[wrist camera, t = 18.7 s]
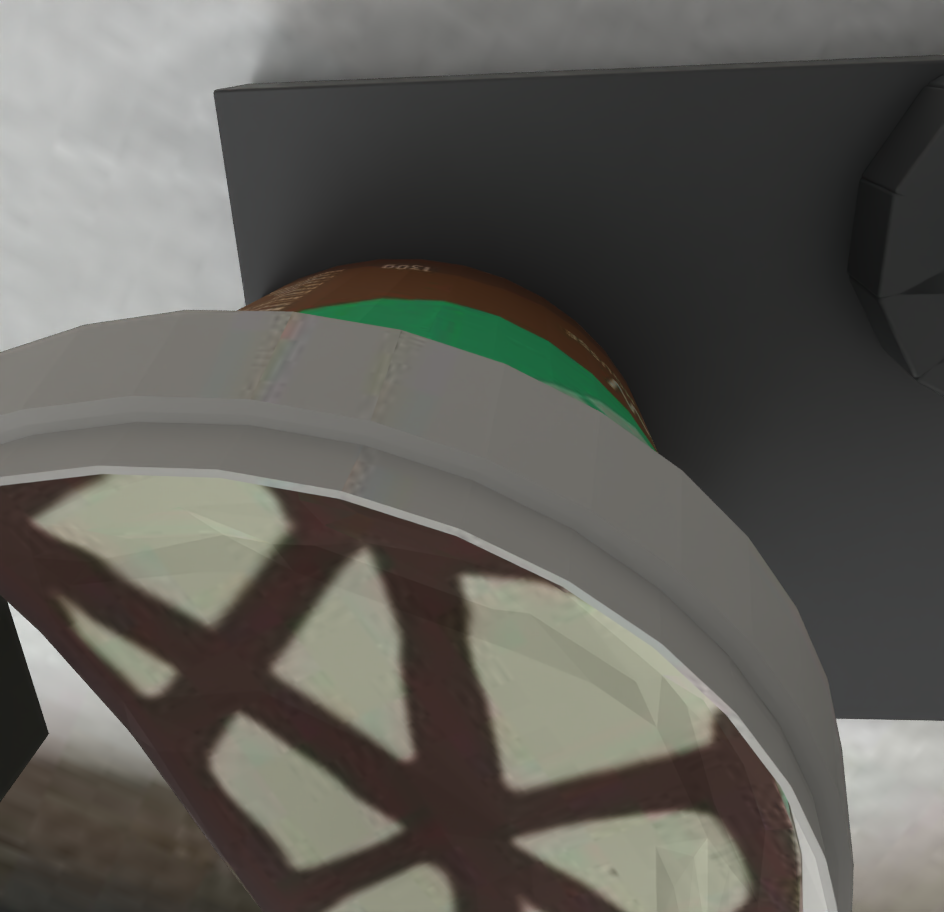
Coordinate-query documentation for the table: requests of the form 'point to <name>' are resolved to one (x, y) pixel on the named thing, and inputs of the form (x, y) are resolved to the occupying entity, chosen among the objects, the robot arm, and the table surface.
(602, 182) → the grey button box
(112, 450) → the food container
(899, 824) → the table surface
